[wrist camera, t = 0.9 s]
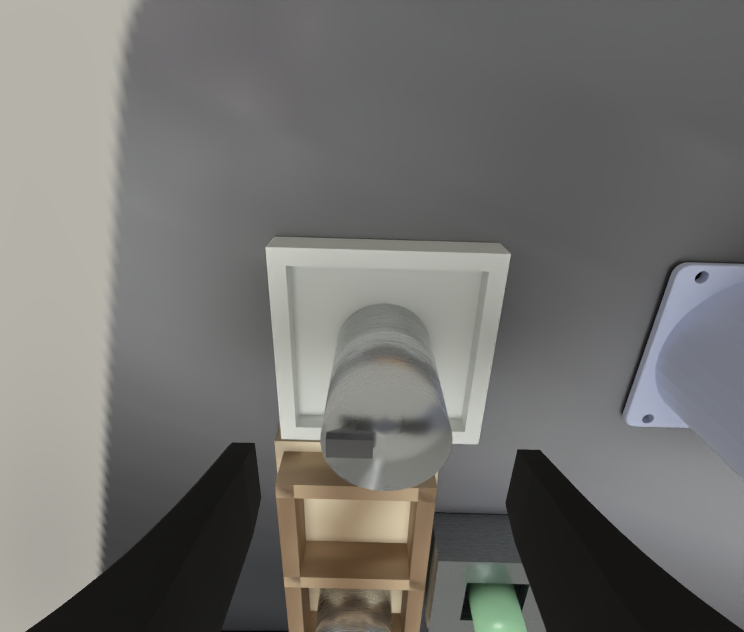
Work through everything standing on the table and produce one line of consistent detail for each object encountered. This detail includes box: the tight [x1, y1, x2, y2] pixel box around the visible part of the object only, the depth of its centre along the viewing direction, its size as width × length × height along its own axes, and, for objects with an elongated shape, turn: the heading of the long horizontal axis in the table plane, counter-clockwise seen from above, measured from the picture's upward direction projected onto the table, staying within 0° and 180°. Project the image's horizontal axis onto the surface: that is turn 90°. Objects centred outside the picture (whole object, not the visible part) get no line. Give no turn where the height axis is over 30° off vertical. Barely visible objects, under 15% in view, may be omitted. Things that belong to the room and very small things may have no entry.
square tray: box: [265, 237, 511, 444], centre depth 18 cm, size 9×9×2 cm
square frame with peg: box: [424, 513, 546, 632], centre depth 24 cm, size 6×6×3 cm
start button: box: [466, 583, 527, 632], centre depth 22 cm, size 2×2×3 cm
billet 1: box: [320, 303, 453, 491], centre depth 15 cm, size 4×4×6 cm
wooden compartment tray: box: [275, 425, 438, 632], centre depth 22 cm, size 8×14×3 cm, turn 178°
